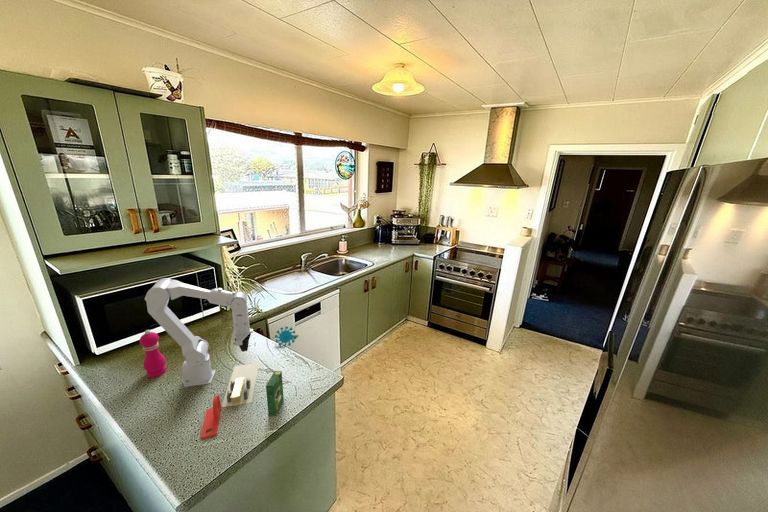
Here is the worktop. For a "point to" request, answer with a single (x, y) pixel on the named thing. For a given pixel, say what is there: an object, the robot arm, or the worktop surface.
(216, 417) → the bracket
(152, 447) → the worktop surface
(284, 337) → the gear
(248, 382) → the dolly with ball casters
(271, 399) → the coffee box
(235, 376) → the mat
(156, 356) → the pepper mill
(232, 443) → the worktop surface
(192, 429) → the worktop surface
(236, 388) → the sanding block
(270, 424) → the worktop surface
